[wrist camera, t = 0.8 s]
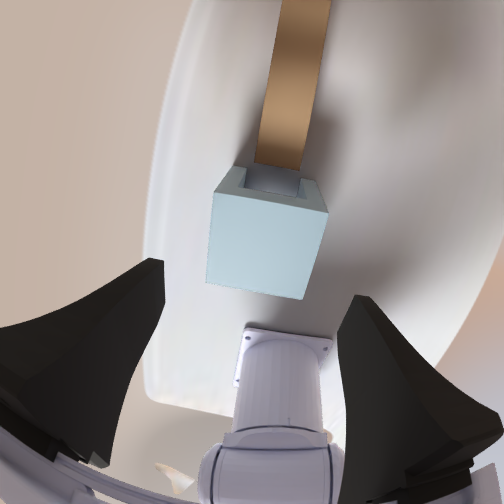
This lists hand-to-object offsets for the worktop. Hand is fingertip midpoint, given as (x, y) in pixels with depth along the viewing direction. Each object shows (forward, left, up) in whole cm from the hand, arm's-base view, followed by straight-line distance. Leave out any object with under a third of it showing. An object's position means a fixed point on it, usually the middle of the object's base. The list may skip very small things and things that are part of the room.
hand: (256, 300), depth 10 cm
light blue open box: (0, 0, -9) cm, 9 cm away
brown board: (+9, 0, -9) cm, 13 cm away
